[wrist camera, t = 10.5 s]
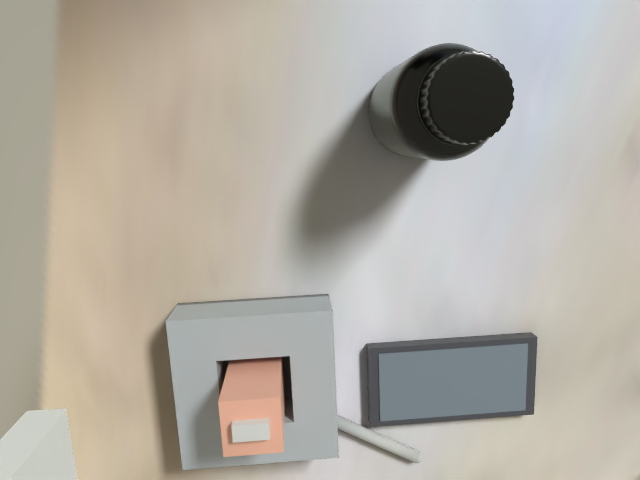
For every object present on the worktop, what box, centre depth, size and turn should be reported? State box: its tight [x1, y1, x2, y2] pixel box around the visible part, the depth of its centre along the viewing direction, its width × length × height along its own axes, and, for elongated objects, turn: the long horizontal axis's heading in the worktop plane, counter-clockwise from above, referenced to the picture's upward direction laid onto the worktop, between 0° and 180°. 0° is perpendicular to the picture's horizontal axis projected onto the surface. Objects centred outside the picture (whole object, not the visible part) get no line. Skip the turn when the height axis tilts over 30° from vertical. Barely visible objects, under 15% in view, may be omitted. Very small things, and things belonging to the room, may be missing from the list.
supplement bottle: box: [369, 43, 514, 161], centre depth 31 cm, size 7×7×12 cm
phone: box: [367, 333, 537, 427], centre depth 41 cm, size 7×14×1 cm, turn 93°
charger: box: [218, 357, 285, 457], centre depth 36 cm, size 4×4×9 cm
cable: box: [337, 415, 422, 463], centre depth 42 cm, size 9×1×1 cm, turn 63°
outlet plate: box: [166, 294, 339, 470], centre depth 39 cm, size 12×12×4 cm
